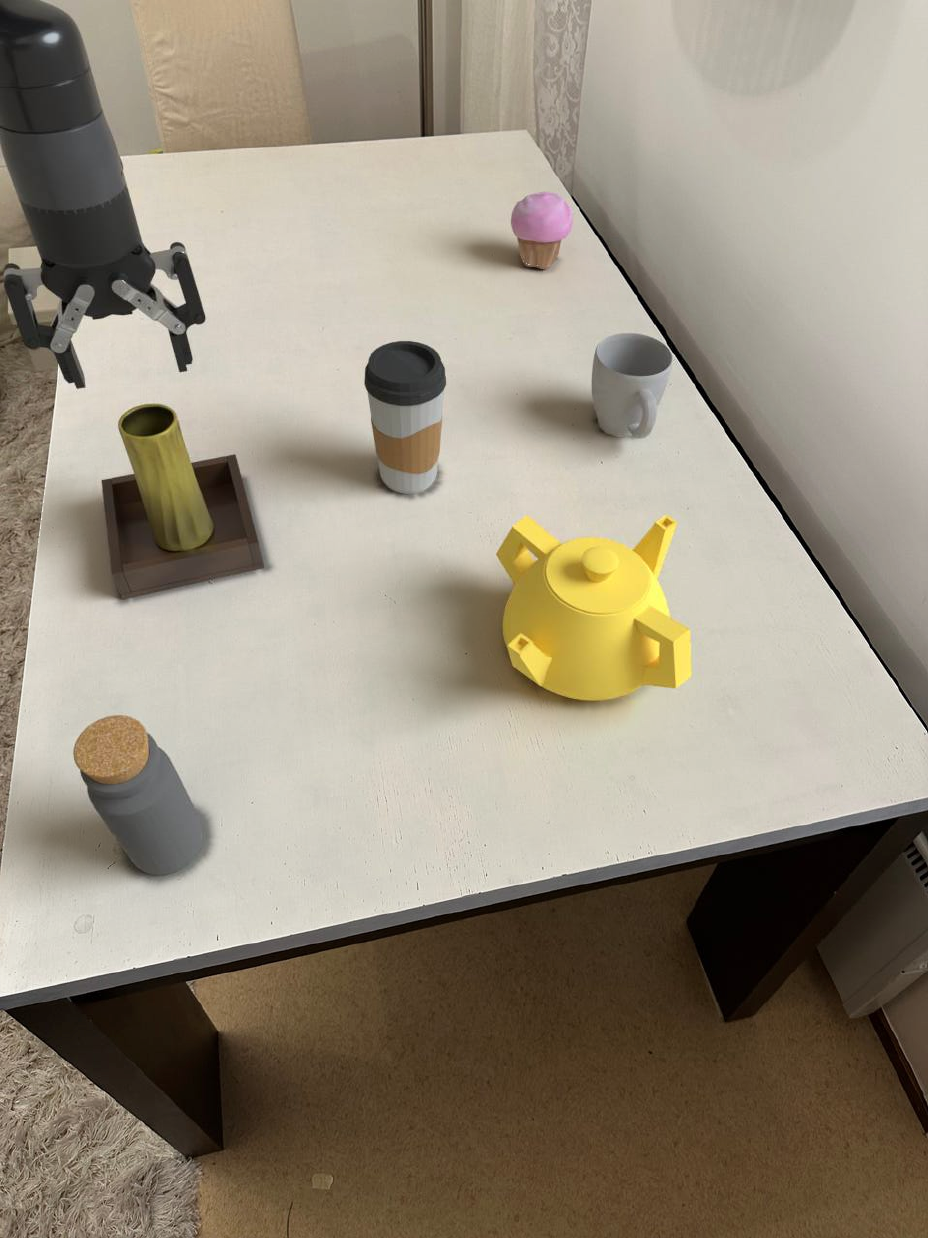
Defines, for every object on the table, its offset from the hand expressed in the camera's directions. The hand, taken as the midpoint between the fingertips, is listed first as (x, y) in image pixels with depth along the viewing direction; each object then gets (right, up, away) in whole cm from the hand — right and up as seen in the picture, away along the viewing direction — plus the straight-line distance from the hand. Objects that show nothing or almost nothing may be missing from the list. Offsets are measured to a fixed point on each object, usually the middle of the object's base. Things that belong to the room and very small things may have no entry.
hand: (132, 374), depth 73 cm
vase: (0, -12, +15) cm, 19 cm away
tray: (0, -13, +15) cm, 20 cm away
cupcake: (+40, +32, +53) cm, 74 cm away
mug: (+48, +1, +28) cm, 56 cm away
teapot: (+40, -24, +8) cm, 47 cm away
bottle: (+5, -39, -6) cm, 40 cm away
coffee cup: (+23, -5, +22) cm, 32 cm away
